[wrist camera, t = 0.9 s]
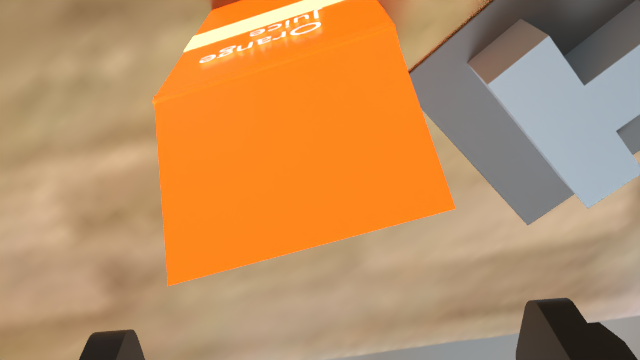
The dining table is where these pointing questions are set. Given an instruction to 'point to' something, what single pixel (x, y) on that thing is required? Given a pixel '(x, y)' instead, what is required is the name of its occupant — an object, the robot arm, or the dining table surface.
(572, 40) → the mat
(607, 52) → the t block
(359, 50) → the orange juice
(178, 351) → the dining table surface
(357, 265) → the dining table surface
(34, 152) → the dining table surface
